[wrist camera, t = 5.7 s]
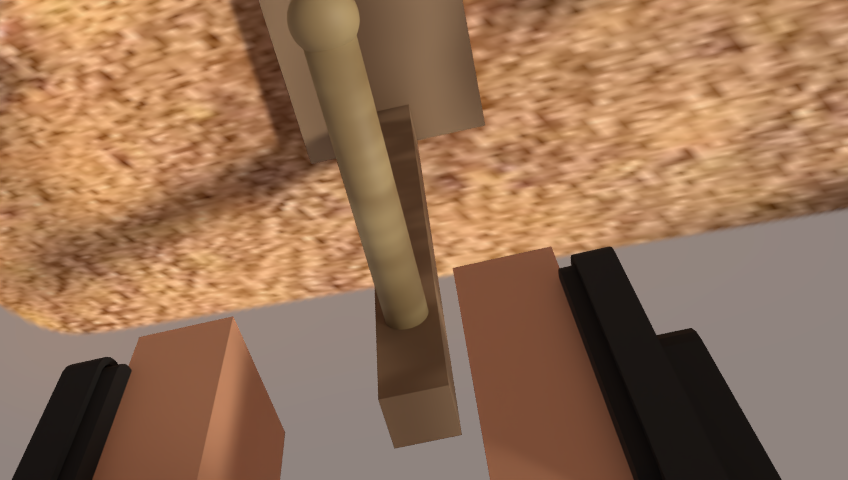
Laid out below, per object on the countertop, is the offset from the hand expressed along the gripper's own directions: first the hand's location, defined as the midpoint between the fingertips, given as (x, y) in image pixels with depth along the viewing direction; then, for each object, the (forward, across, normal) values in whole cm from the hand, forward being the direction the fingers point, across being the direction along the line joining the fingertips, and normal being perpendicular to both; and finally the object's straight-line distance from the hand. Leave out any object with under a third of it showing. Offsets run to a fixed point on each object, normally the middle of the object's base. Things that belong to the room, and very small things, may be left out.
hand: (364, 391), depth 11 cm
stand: (+29, +1, +4) cm, 30 cm away
